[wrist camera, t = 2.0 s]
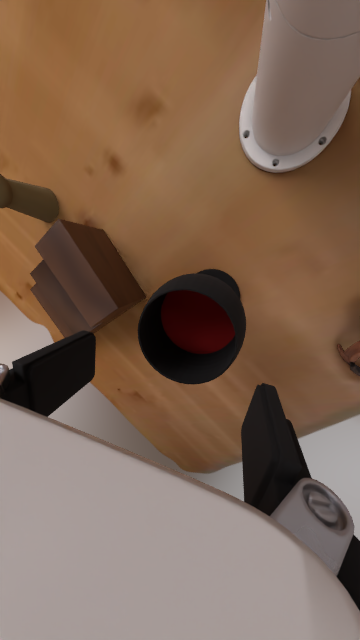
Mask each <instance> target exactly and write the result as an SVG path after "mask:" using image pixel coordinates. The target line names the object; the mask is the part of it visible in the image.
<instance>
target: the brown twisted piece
mask: <svg viewBox="0 0 360 640" xmlns="http://www.w3.org/2000/svg"><path fill="white" fill-rule="evenodd" d="M337 347H338V351H339V353H340V355H341V357H342V358H343V360H344V361H346V362H347V363H348V364H349V365H350V369H351V371H353V372H354V373H355V374H357V375H358V376H360V367H359V366H357V365H356V364H355V363H354V362H356V361H357V360H358V359H359V358H360V341H358V342H356V343H354V344H353V345H352V346H350V347H349V348H347V349H346V350H345V351H344V350H343V349H342V347H341V345H340V344H338V345H337Z"/></svg>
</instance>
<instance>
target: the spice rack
mask: <svg viewBox="0 0 360 640" xmlns="http://www.w3.org/2000/svg"><path fill="white" fill-rule="evenodd" d="M35 247H36V249H37V250H38V252H39V253H40V255H41V256H42V258H43V260H42V262H41V263H40V264H39V265H38V266H37V267H36V268H35V269H34V270H33V271H32V272H31V273H30V274H31V276H32V277H33V279H34V280H35V281H36V284H35V285H34V286H33V287H32V288H31V289H30V290H31V291H32V293H33V294H34V295H35V297H36V298H37V300H38V301H39V302H40V304H41V305H42V307H43V308H44V309H45V311H46V312H47V314H48V315H49V316H50V318H51V319H52V321H53V322H54V323H55V325H56V326H57V328H58V329H59V330H60V332H61V333H62V335H63V336H64V337H65V338H66V337H69V336H71V335H73V334H75V333H77V332H80V331H82V330H85V331H88V332H92V333H95V332H96V331H97V330H99V329H100V328H102V327H103V326H105V325H106V324H108V323H109V322H111V321H112V320H114V319H115V318H116V317H118V316H119V315H121V314H122V313H124V312H125V311H127V310H128V309H130V308H131V307H133V306H134V305H136V304H137V303H138V302H140V301H141V300H143V299H144V298H146V296H145V294H144V293H143V291H142V290H141V288H140V287H139V285H138V284H137V282H136V280H135V279H134V277H133V276H132V274H131V273H130V271H129V270H128V268H127V266H126V265H125V263H124V262H123V260H122V259H121V257H120V255H119V254H118V252H117V251H116V249H115V248H114V246H113V245H112V243H111V241H110V240H109V238H108V237H107V235H106V234H105V232H104V231H103V230H101V229H97V228H93V227H89V226H85V225H81V224H77V223H73V222H69V221H65V220H62V219H58V220H57V221H56V223H55V224H54V225H53V226H52V227H51V228H50V229H49V231H48V232H47V233H46V234H45V235H44V236H43V237H42V238H41V240H40V241H39V242H38V243H37V244H36V245H35Z"/></svg>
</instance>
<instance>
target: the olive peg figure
mask: <svg viewBox="0 0 360 640" xmlns="http://www.w3.org/2000/svg"><path fill="white" fill-rule="evenodd" d="M5 207H7V208H10V209H13V210H16V211H18V212H21V213H24V214H26V215H29V216H32V217H34V218H37V219H40V220H42V221H45V222H52V221H54V220H55V219H56V218H57V215H58V212H59V205H58V201H57V198H56V196H55V194H54V193H53V192H52V191H51V190H50V189H47V188H44V187H40V186H35V185H31V184H27V183H23V182H18V181H14V180H10V179H6V178H4V177H3V176H2V175H1V174H0V208H5Z"/></svg>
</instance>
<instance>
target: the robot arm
mask: <svg viewBox="0 0 360 640" xmlns="http://www.w3.org/2000/svg"><path fill="white" fill-rule="evenodd" d="M359 77H360V0H266V8H265V16H264V24H263V32H262V40H261V48H260V56H259V63H258V71H257V75H256V77H255V78H254V80H253V81H252V83H251V84H250V87H249V89H248V91H247V93H246V95H245V98H244V101H243V104H242V107H241V113H240V119H239V135H240V141H241V145H242V149H243V151H244V153H245V155H246V156H247V158H248V159H249V160H250V161H251V163H253V164H254V165H255V166H257V167H258V168H260V169H262V170H264V171H268V172H274V173H278V172H287V171H291V170H294V169H297V168H299V167H301V166H303V165H305V164H306V163H308V162H310V161H311V160H313V159H314V158H315V157H316V156H317V155H318V154H320V153H321V152H322V151H323V149H324V148H325V147H326V146H327V145H328V144H329V143H330V141H331V140H332V139H333V137H334V136H335V134H336V133H337V131H338V130H339V128H340V126H341V124H342V122H343V120H344V118H345V115H346V113H347V110H348V107H349V102H350V97H351V89H352V87H353V86H354V84H355V83H356V81H357V80H358V79H359ZM246 136H247V137H248V138H245V137H246ZM319 143H321V144H322V145H319ZM273 164H276V166H275V167H274V166H273ZM95 346H96V337H95V336H94V334H93V333H92V332H88V331H85V330H82V331H80V332H77V333H75V334H73V335H71V336H69V337H66V338H64V339H62V340H60V341H57V342H55V343H53V344H51V345H49V346H46V347H44V348H42V349H40V350H38V351H35V352H33V353H31V354H29V355H26V356H24V357H22V358H20V359H18V360H16V361H13V362H12V364H13V369H10V370H9V368H8V366H7V365H5V364H0V640H360V541H359V540H358V539H357V538H356V537H355V536H354V535H353V534H354V524H353V520H352V517H351V516H350V513H349V511H348V509H347V508H346V506H345V505H344V504H343V502H342V501H341V500H340V499H339V497H338V496H337V495H336V494H335V493H334V492H333V491H332V490H331V489H329V488H328V487H327V486H325V485H324V484H322V483H321V482H318V481H317V480H314V479H312V478H311V475H310V473H309V470H308V467H307V464H306V462H305V459H304V456H303V453H302V450H301V448H300V445H299V442H298V439H297V437H296V434H295V431H294V428H293V425H292V423H291V421H290V420H288V419H286V418H285V415H284V412H283V409H282V406H281V403H280V400H279V397H278V394H277V391H276V388H275V387H274V386H271V385H268V384H264V383H262V384H261V385H257V387H256V389H255V392H254V395H253V397H252V400H251V403H250V406H249V408H248V411H247V414H246V416H245V419H244V422H243V425H242V429H241V438H242V460H243V482H244V502H243V501H241V500H239V499H237V498H235V497H233V496H231V495H229V494H227V493H225V492H223V491H221V490H218V489H216V488H214V487H212V486H209V485H207V484H205V483H203V482H200V481H198V480H196V479H194V478H191V477H189V476H187V475H184V474H182V473H180V472H177V471H175V470H173V469H170V468H168V467H166V466H163V465H161V464H158V463H156V462H154V461H151V460H149V459H147V458H144V457H142V456H140V455H137V454H135V453H133V452H130V451H128V450H125V449H123V448H121V447H118V446H116V445H113V444H111V443H109V442H106V441H104V440H101V439H99V438H97V437H94V436H92V435H89V434H87V433H85V432H82V431H80V430H77V429H75V428H73V427H70V426H68V425H65V424H63V423H60V422H58V421H56V420H53V419H51V418H48V416H49V415H50V414H51V413H53V412H54V411H55V410H56V409H57V408H59V407H60V406H61V405H62V404H63V403H65V402H66V401H67V400H68V399H69V398H71V397H72V396H73V395H74V394H75V393H77V392H78V391H79V390H80V389H81V388H83V387H84V386H85V385H86V384H87V383H89V382H90V381H91V380H92V379H93V377H94V375H95Z"/></svg>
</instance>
